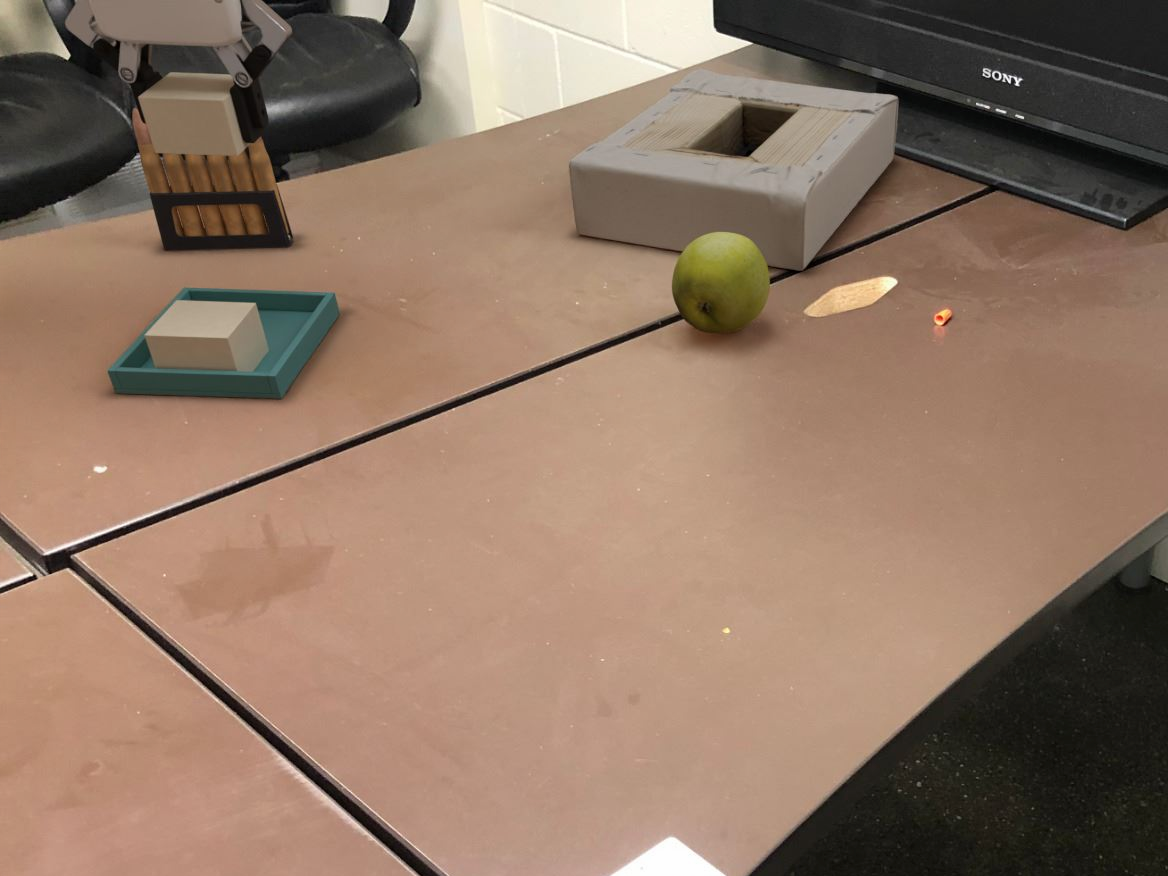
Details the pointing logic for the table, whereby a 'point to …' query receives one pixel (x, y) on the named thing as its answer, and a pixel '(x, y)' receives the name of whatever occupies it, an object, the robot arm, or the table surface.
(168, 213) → the ammunition clip
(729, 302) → the apple
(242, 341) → the pad
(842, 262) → the table surface
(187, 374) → the tray
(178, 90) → the beige rectangular block
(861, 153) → the hollow concrete block
